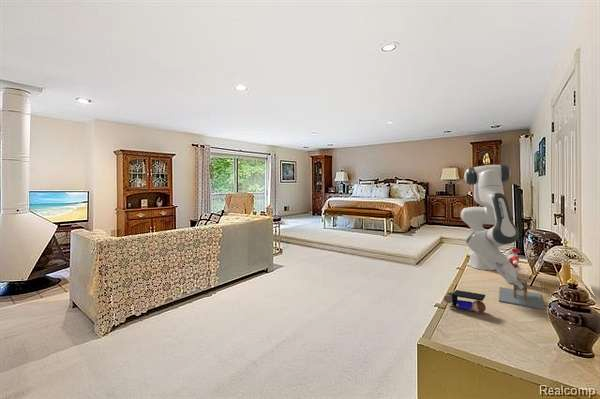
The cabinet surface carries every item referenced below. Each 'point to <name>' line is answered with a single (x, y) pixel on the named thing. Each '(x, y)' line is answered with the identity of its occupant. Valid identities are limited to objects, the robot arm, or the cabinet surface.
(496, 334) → the cabinet surface
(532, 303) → the mat
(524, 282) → the stool
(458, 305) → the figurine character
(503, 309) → the cabinet surface
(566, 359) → the cabinet surface
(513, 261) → the santa figurine
